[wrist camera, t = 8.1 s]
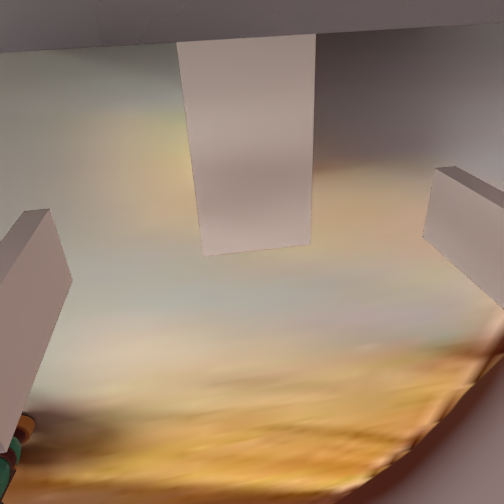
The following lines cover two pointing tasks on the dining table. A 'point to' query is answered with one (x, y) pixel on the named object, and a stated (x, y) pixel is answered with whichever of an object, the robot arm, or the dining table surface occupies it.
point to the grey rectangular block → (250, 139)
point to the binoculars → (14, 452)
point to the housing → (218, 19)
